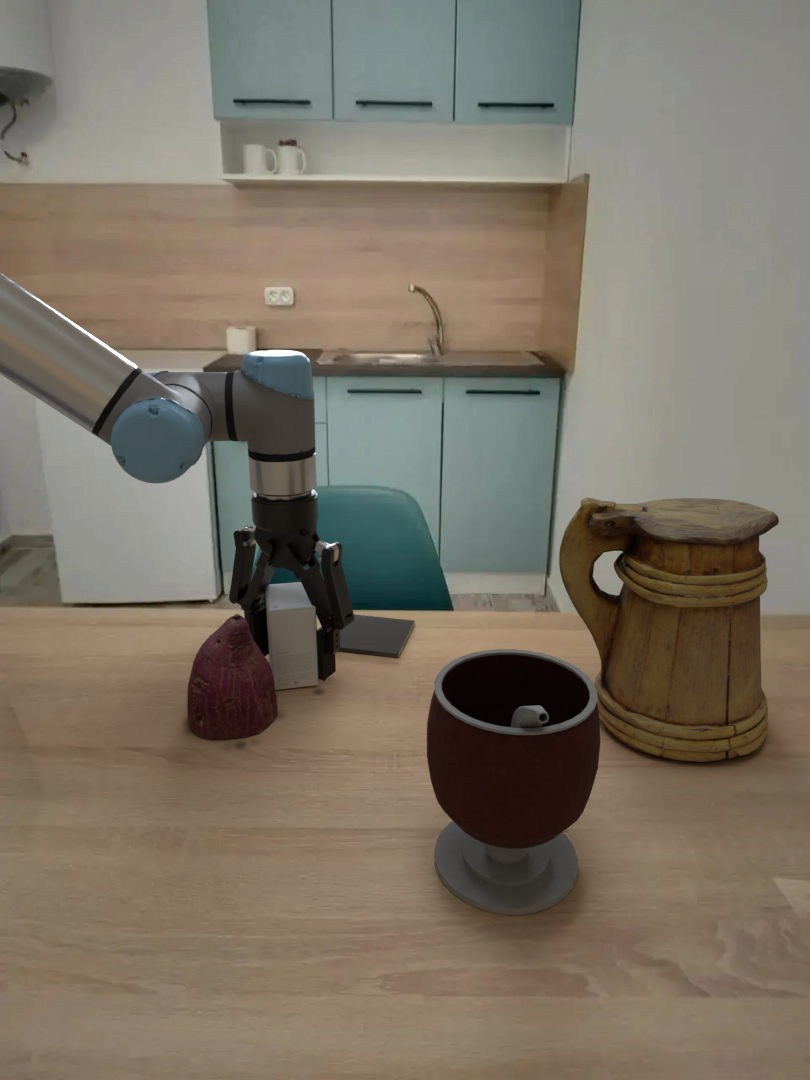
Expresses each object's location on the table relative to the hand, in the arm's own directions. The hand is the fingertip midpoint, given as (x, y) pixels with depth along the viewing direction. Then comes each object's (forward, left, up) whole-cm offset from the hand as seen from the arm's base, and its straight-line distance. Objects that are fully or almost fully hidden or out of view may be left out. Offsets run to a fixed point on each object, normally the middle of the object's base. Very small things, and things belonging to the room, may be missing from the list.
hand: (293, 665), depth 102 cm
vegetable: (-1, -11, -1) cm, 11 cm away
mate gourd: (+35, -19, -1) cm, 40 cm away
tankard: (+41, +11, -1) cm, 43 cm away
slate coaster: (+3, +13, -1) cm, 14 cm away
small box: (0, 0, -1) cm, 1 cm away
